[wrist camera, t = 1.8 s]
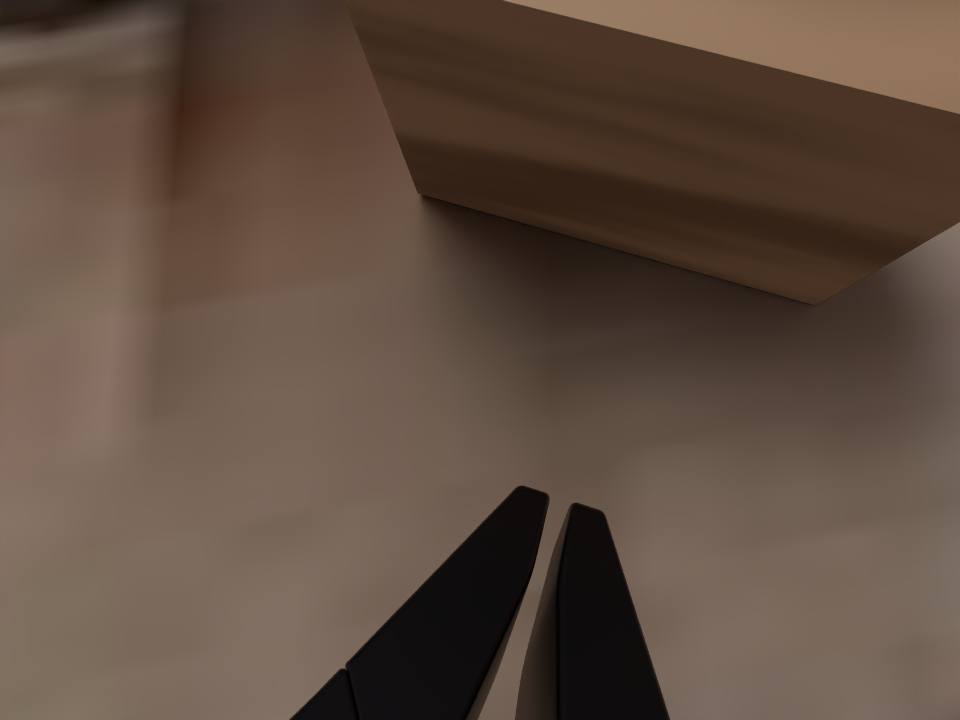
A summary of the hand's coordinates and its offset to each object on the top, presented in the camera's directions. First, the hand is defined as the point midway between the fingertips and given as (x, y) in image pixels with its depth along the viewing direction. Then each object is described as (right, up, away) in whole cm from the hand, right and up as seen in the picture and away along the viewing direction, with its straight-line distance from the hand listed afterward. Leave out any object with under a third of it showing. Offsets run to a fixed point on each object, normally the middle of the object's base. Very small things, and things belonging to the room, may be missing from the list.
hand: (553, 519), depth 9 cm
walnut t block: (+5, +11, +15) cm, 19 cm away
